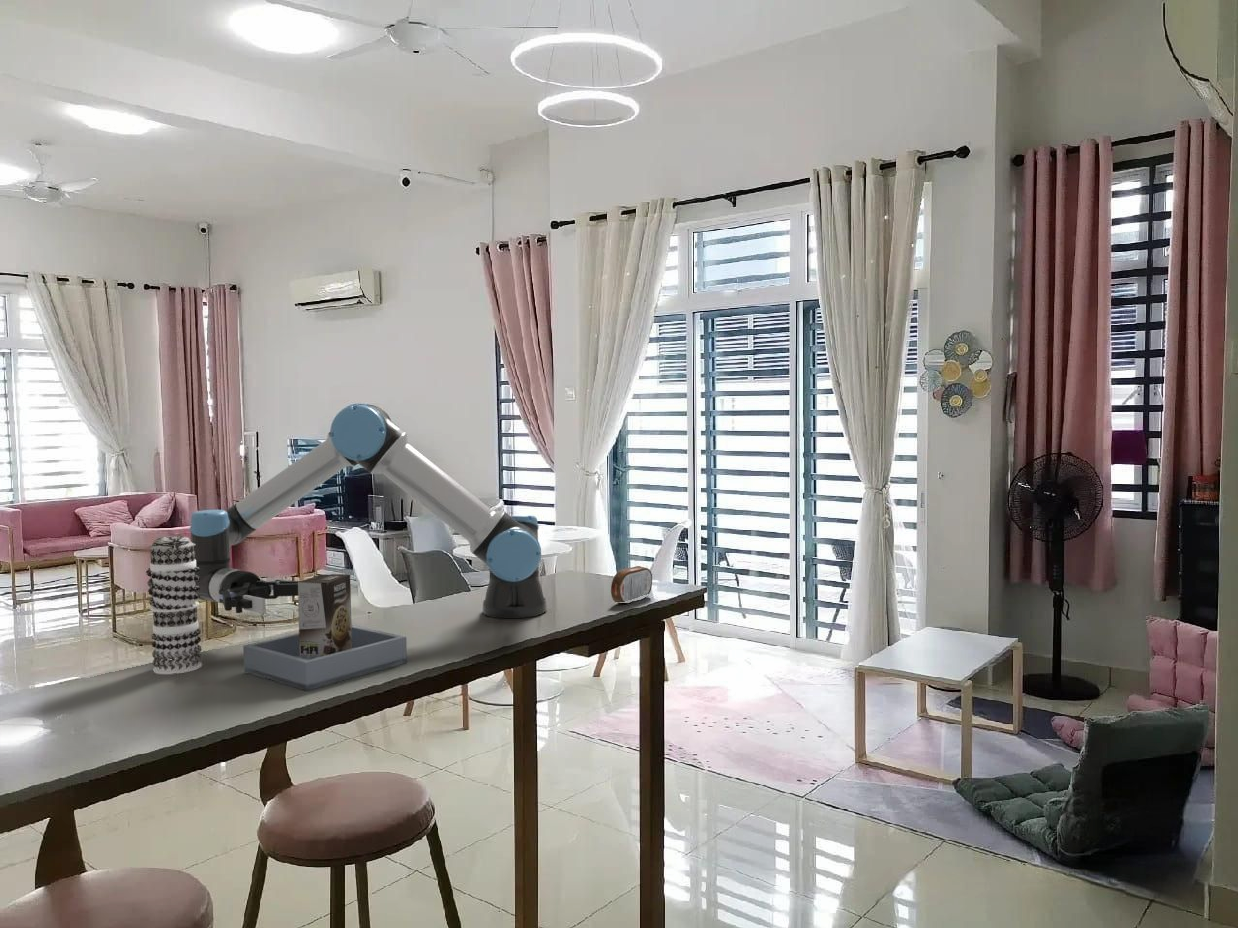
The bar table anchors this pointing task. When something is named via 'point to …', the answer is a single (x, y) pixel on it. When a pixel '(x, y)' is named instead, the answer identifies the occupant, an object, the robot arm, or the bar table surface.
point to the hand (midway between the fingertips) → (295, 599)
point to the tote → (324, 659)
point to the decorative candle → (174, 605)
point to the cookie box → (324, 615)
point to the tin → (631, 583)
